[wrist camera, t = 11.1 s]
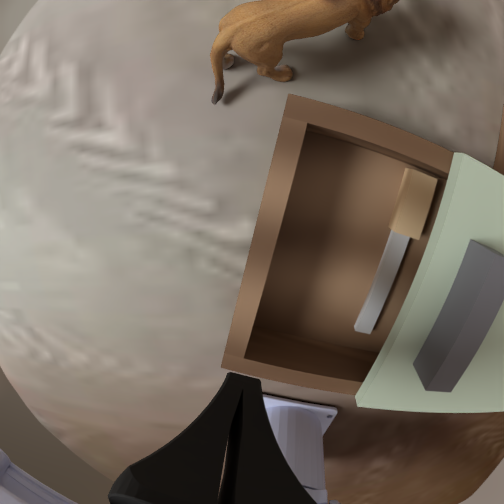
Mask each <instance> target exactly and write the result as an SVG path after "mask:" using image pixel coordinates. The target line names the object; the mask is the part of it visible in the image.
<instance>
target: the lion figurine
mask: <svg viewBox="0 0 504 504" xmlns="http://www.w3.org/2000/svg"><path fill="white" fill-rule="evenodd" d="M398 1H399V0H261V1H254V2H248V3H244V4H241V5H239V6H237V7H235V8H234V9H232V10H231V11H230V12H229V13H228V14H226V15H225V16H224V17H223V18H222V19H221V21H220V24H219V32H220V33H219V34H218V35H217V37H216V39H215V41H214V43H213V46H212V50H211V53H210V57H211V64H212V69H213V72H214V75H215V85H216V88H215V91H214V94H213V96H212V103H213V104H216V103H217V102H218V101H219V100H220V99H221V98H222V96H223V93H224V79H223V69H227V68H229V67H230V66H231V65H232V64H233V62H234V60H233V59H234V57H233V55H231V54H228V53H227V52H228V51H229V50H234V51H235V52H236V53H237V54H238V55H239V56H241V57H242V58H243V59H245V60H247V61H249V62H251V63H253V64H255V65H257V66H258V69H257V73H258V74H259V75H261V76H266V77H270V78H272V79H274V80H276V81H280V82H285V81H289V80H290V79H291V78H292V75H293V73H292V70H291V69H290V68H289V66H288V65H279V66H277V64H278V63H279V62H280V60H281V59H282V56H283V53H282V50H283V45H284V43H285V42H287V41H289V40H294V39H302V38H308V37H314V36H318V35H321V34H324V33H326V32H329V31H331V30H333V29H335V28H337V27H339V26H341V25H343V24H345V23H347V22H348V23H349V24H348V25H347V27H346V29H345V32H346V33H347V34H348V36H349V37H350V38H353V39H355V40H360V39H362V38H363V36H364V30H363V29H364V28H365V27H367V26H368V25H369V24H370V22H371V18H372V17H373V16H378V15H380V14H383V13H385V12H387V11H390V10H391V9H392V6H393V5H394V4H396V3H397V2H398ZM276 66H277V67H276Z"/></svg>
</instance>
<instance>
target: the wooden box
mask: <svg viewBox="0 0 504 504" xmlns="http://www.w3.org/2000/svg"><path fill="white" fill-rule="evenodd" d="M453 155H454V153H453V152H451V151H449V150H447V149H445V148H443V147H441V146H439V145H436V144H434V143H432V142H430V141H428V140H425V139H423V138H421V137H418V136H416V135H414V134H411V133H409V132H407V131H404V130H402V129H399V128H397V127H394V126H391V125H389V124H386V123H384V122H381V121H378V120H375V119H373V118H370V117H367V116H364V115H361V114H358V113H355V112H352V111H349V110H346V109H343V108H339V107H336V106H333V105H330V104H326V103H323V102H319V101H316V100H312V99H308V98H304V97H301V96H297V95H293V94H288V98H287V102H286V106H285V110H284V114H283V118H282V122H281V126H280V130H279V134H278V138H277V142H276V146H275V150H274V154H273V158H272V162H271V166H270V170H269V174H268V178H267V182H266V186H265V190H264V194H263V198H262V202H261V206H260V210H259V214H258V218H257V222H256V226H255V230H254V234H253V238H252V242H251V246H250V250H249V255H248V259H247V263H246V267H245V271H244V275H243V279H242V283H241V287H240V291H239V295H238V299H237V303H236V307H235V311H234V315H233V319H232V324H231V328H230V332H229V336H228V340H227V344H226V348H225V352H224V356H223V360H222V364H221V368H225V369H228V370H232V371H236V372H240V373H244V374H248V375H252V376H256V377H260V378H265V379H269V380H274V381H278V382H283V383H288V384H293V385H298V386H303V387H308V388H313V389H319V390H325V391H331V392H337V393H343V394H350V395H356V394H357V392H358V390H359V389H360V387H361V385H362V384H363V382H364V380H365V379H366V377H367V375H368V373H369V371H370V370H371V368H372V366H373V364H374V362H375V361H376V359H377V357H378V355H379V353H380V351H381V349H382V347H383V345H384V343H385V341H386V339H387V337H388V335H389V333H390V331H391V329H392V327H393V325H394V323H395V321H396V319H397V317H398V315H399V312H400V310H401V308H402V306H403V304H404V301H405V299H406V297H407V295H408V292H409V290H410V288H411V285H412V283H413V280H414V278H415V275H416V273H417V270H418V268H419V265H420V263H421V260H422V258H423V255H424V252H425V249H426V247H427V244H428V241H429V238H430V235H431V232H432V229H433V226H434V223H435V220H436V217H437V214H438V211H439V208H440V204H441V201H442V197H443V194H444V190H445V187H446V183H447V179H448V176H449V172H450V168H451V164H452V159H453ZM493 170H495V171H497V172H498V173H500V174H502V175H503V176H504V106H503V114H502V122H501V129H500V135H499V141H498V147H497V152H496V157H495V162H494V167H493Z"/></svg>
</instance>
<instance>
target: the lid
mask: <svg viewBox="0 0 504 504" xmlns="http://www.w3.org/2000/svg"><path fill="white" fill-rule="evenodd" d="M355 398H356V403H357V406H358V407H366V408H376V409H386V410H398V411H413V412H437V413H479V412H501V411H504V176H503V175H502V174H500V173H498V172H497V171H495V170H493V169H492V168H490V167H488V166H486V165H485V164H483V163H481V162H479V161H477V160H476V159H474V158H472V157H470V156H468V155H466V154H464V153H454V155H453V159H452V164H451V168H450V172H449V176H448V179H447V183H446V187H445V190H444V194H443V197H442V201H441V204H440V208H439V211H438V214H437V217H436V220H435V223H434V226H433V229H432V232H431V235H430V238H429V241H428V244H427V247H426V249H425V252H424V255H423V258H422V260H421V263H420V265H419V268H418V270H417V273H416V275H415V278H414V280H413V283H412V285H411V288H410V290H409V292H408V295H407V297H406V299H405V301H404V304H403V306H402V308H401V310H400V312H399V315H398V317H397V319H396V321H395V323H394V325H393V327H392V329H391V331H390V333H389V335H388V337H387V339H386V341H385V343H384V345H383V347H382V349H381V351H380V353H379V355H378V357H377V359H376V361H375V362H374V364H373V366H372V368H371V370H370V371H369V373H368V375H367V377H366V379H365V380H364V382H363V384H362V385H361V387H360V389H359V390H358V392H357V394H356V395H355Z"/></svg>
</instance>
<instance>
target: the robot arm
mask: <svg viewBox="0 0 504 504" xmlns="http://www.w3.org/2000/svg"><path fill="white" fill-rule="evenodd" d="M336 414H337V408H335V407H330V406H323V405H317V404H311V403H305V402H300V401H294V400H289V399H284V398H279V397H274V396H270V395H265V394H262V387H261V381H260V380H259V379H256V378H252V377H248V376H244V375H240V374H236V373H232V372H229V373H227V376H226V378H225V380H224V382H223V384H222V386H221V388H220V389H219V391H218V392H217V394H216V395H215V397H214V398H213V399H212V401H211V402H210V403H209V405H208V406H207V407H206V408H205V409H204V410H203V411H202V413H201V414H200V415H199V416H198V417H197V418H196V419H195V420H194V421H193V422H192V423H191V424H190V425H189V426H188V427H187V428H186V429H185V430H184V431H182V432H181V433H180V434H179V435H178V436H176V437H175V438H174V439H173V440H171V441H170V442H169V443H167V444H166V445H164V446H163V447H161V448H160V449H158V450H157V451H155V452H154V453H152V454H151V455H149V456H147V457H145V458H143V459H141V460H140V461H138V462H136V463H134V464H132V465H130V466H129V467H127V468H126V469H125V470H124V471H123V472H122V474H121V475H120V476H119V477H118V478H117V479H116V481H115V482H114V484H113V486H112V488H111V490H110V492H109V494H108V498H109V501H110V504H328V502H327V490H325V471H324V453H323V437H322V436H323V435H324V433H325V432H326V430H327V428H328V427H329V425H330V424H331V422H332V421H333V419H334V418H335V416H336ZM228 435H229V436H228ZM227 441H228V444H227ZM226 446H227V453H226V461H225V469H224V475H223V479H222V484H221V488H220V492H219V487H220V480H221V474H222V468H223V462H224V457H225V451H226ZM218 494H219V496H218ZM0 504H77V503H75V502H74V501H72V500H70V499H68V498H66V497H64V496H62V495H61V494H59V493H57V492H56V491H54V490H52V489H51V488H49V487H47V486H46V485H44V484H43V483H41V482H39V481H38V480H36V479H35V478H33V477H32V476H30V475H28V474H27V473H26V472H24V471H23V470H22V469H20V468H19V467H17V466H16V465H15V464H13V463H12V462H11V461H10V459H9V457H8V456H7V455H6V454H5V453H4V452H3V451H2V450H1V449H0ZM329 504H340V503H338V501H337V500H329Z"/></svg>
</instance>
